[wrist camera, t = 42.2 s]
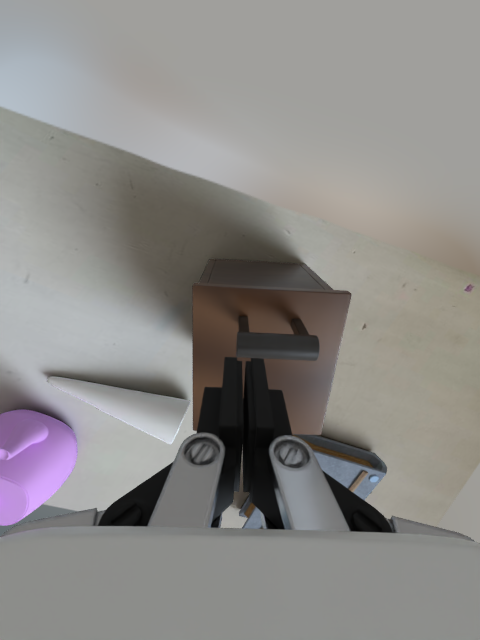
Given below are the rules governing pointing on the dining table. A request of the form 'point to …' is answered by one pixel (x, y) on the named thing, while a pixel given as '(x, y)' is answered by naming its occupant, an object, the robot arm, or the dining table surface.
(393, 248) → the dining table surface
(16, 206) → the dining table surface
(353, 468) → the book
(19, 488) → the teapot
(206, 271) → the chest
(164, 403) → the long cone
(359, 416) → the dining table surface
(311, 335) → the lid
